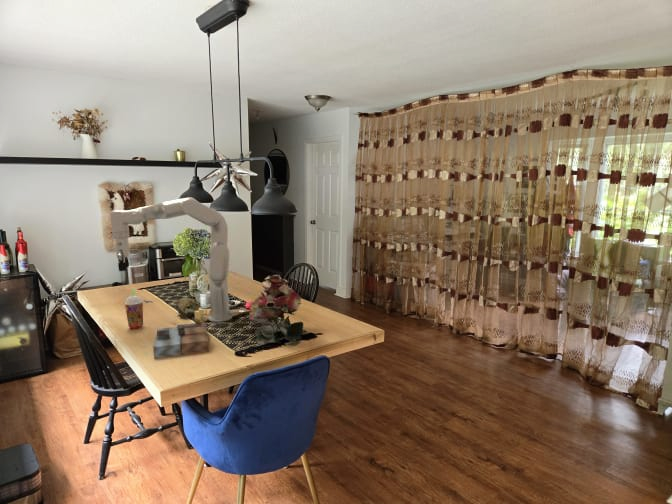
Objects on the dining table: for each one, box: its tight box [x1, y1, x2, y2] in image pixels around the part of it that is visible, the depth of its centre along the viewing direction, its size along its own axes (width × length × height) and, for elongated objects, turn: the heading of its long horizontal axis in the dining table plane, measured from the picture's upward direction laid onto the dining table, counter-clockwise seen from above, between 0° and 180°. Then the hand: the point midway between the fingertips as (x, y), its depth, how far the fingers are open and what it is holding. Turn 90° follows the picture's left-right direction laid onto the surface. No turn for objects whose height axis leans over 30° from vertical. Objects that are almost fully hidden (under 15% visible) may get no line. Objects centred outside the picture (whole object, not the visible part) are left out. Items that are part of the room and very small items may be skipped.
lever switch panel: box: [152, 323, 209, 359], centre depth 191 cm, size 22×24×9 cm
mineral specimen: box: [175, 297, 201, 318], centre depth 234 cm, size 14×13×10 cm
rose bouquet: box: [248, 274, 305, 346], centre depth 200 cm, size 26×29×30 cm
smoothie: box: [124, 289, 144, 330], centre depth 214 cm, size 8×8×20 cm
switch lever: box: [176, 309, 204, 329], centre depth 191 cm, size 11×4×7 cm, turn 109°
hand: (124, 268), depth 209 cm, fingers open, 9 cm apart
